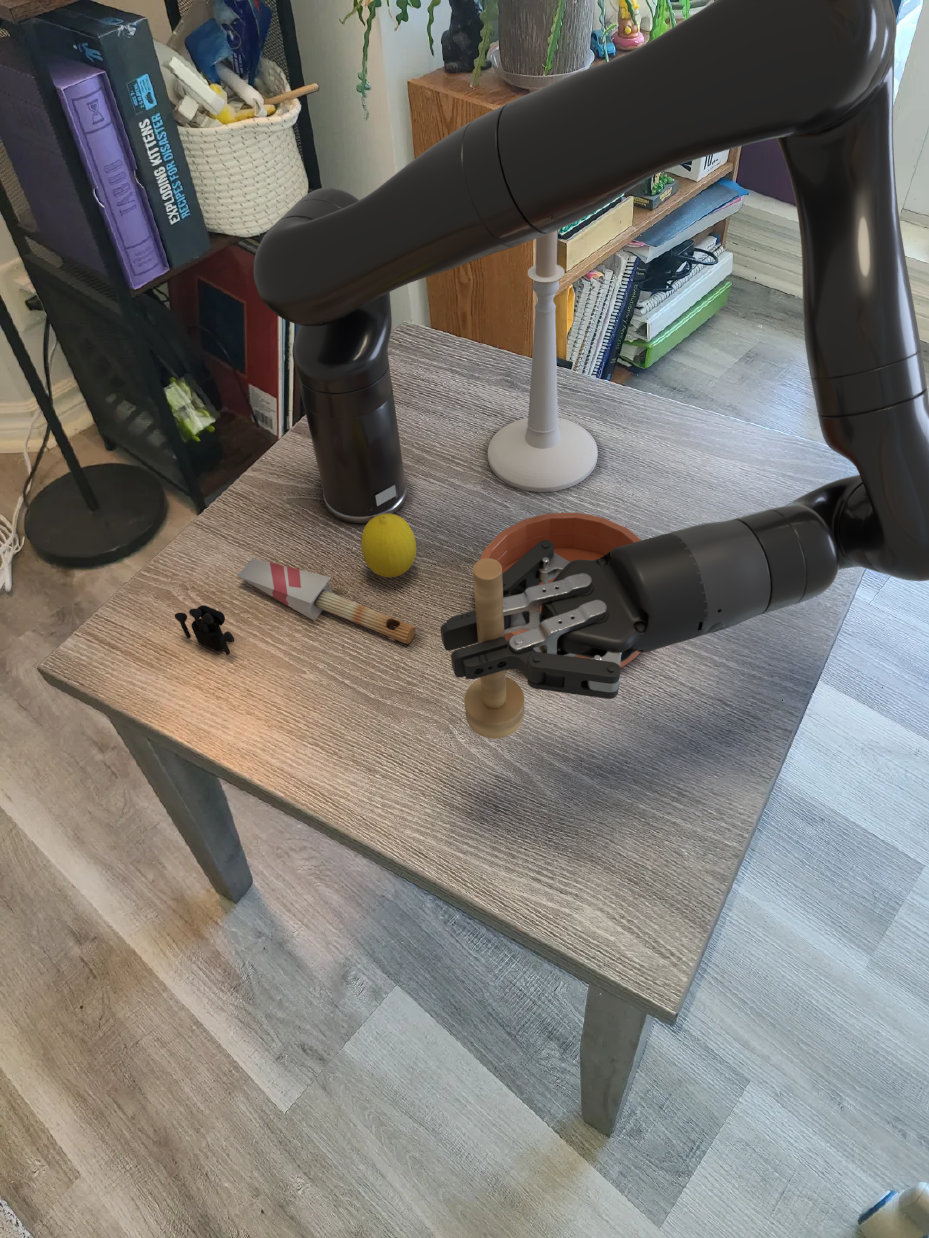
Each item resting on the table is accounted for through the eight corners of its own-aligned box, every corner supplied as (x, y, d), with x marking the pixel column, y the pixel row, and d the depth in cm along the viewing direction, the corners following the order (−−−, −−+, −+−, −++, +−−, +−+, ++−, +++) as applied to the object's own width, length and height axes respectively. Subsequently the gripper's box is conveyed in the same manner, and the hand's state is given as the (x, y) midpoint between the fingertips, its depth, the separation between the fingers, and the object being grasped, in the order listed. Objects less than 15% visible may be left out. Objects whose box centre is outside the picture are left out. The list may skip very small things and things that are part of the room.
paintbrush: (253, 544, 93) (419, 613, 87) (257, 562, 95) (421, 631, 89) (230, 569, 91) (399, 641, 85) (235, 586, 93) (401, 658, 87)
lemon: (426, 560, 95) (420, 504, 89) (407, 597, 92) (399, 542, 86) (378, 549, 96) (369, 494, 90) (358, 586, 93) (347, 531, 87)
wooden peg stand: (454, 709, 68) (437, 564, 55) (500, 680, 69) (494, 532, 57) (489, 749, 65) (479, 606, 53) (536, 718, 67) (538, 572, 54)
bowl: (443, 598, 91) (440, 564, 88) (576, 523, 97) (578, 488, 94) (553, 712, 82) (554, 680, 78) (692, 621, 88) (700, 587, 84)
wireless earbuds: (181, 639, 90) (165, 606, 86) (196, 622, 91) (182, 589, 87) (237, 663, 87) (224, 630, 83) (252, 645, 89) (240, 612, 85)
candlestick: (619, 448, 105) (645, 190, 82) (553, 507, 99) (562, 248, 76) (532, 407, 111) (535, 156, 88) (465, 462, 105) (448, 207, 82)
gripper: (648, 481, 64) (414, 543, 61) (744, 621, 55) (477, 700, 53) (638, 554, 70) (424, 614, 67) (723, 691, 61) (482, 765, 58)
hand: (448, 651), depth 60 cm, fingers closed on wooden peg stand, 2 cm apart
